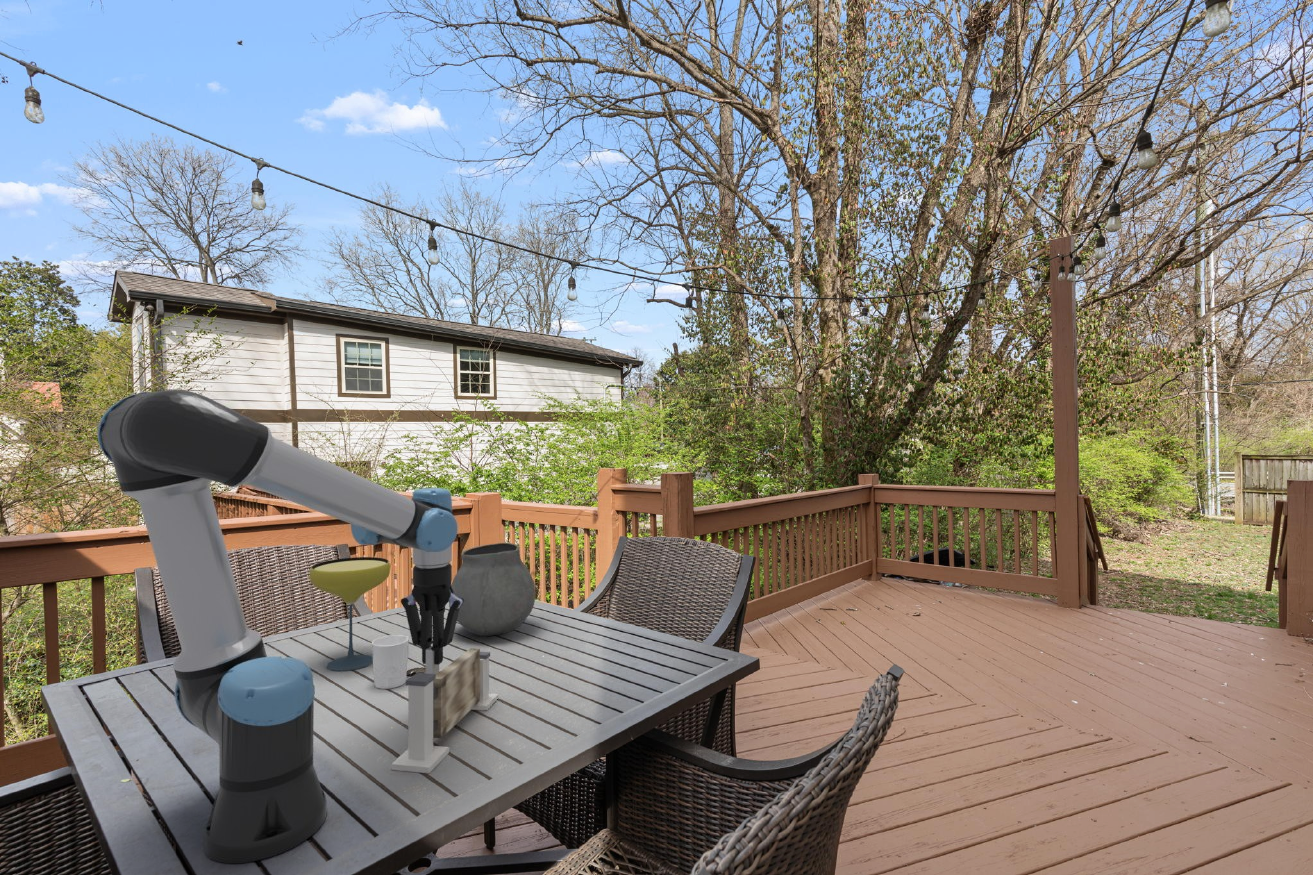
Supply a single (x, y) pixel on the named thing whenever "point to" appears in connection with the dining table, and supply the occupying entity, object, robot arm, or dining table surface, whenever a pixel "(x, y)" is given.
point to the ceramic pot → (493, 589)
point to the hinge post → (420, 728)
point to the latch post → (485, 684)
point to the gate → (455, 691)
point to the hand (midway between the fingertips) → (432, 679)
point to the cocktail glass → (350, 593)
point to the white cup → (390, 661)
